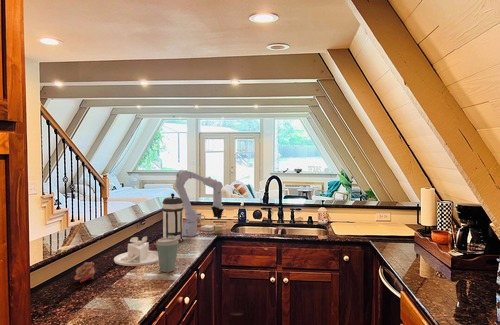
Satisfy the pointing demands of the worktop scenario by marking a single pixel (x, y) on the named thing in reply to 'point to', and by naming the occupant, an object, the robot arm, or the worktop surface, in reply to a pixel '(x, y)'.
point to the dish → (137, 254)
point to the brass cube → (217, 229)
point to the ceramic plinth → (207, 228)
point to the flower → (85, 271)
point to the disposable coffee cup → (167, 253)
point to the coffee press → (173, 217)
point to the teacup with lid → (199, 217)
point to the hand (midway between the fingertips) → (217, 217)
